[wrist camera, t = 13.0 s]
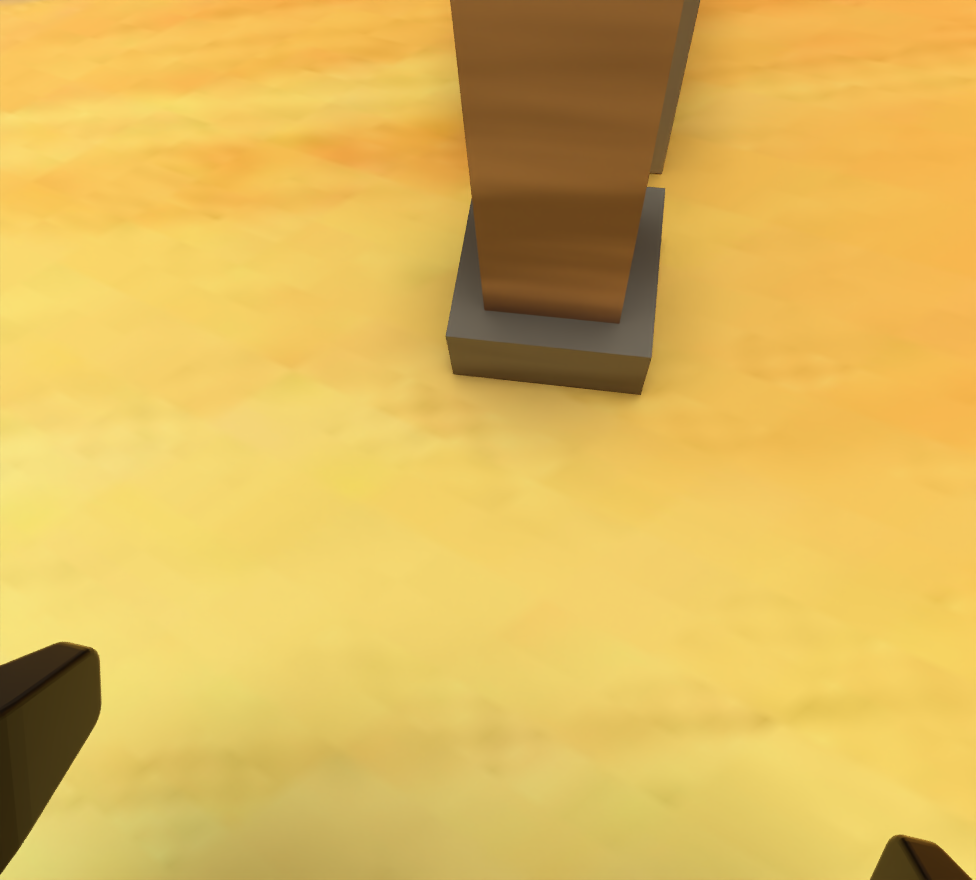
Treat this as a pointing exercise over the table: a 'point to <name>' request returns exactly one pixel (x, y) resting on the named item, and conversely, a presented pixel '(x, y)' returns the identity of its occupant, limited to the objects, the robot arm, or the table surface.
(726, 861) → the table surface
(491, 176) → the wooden post on base
